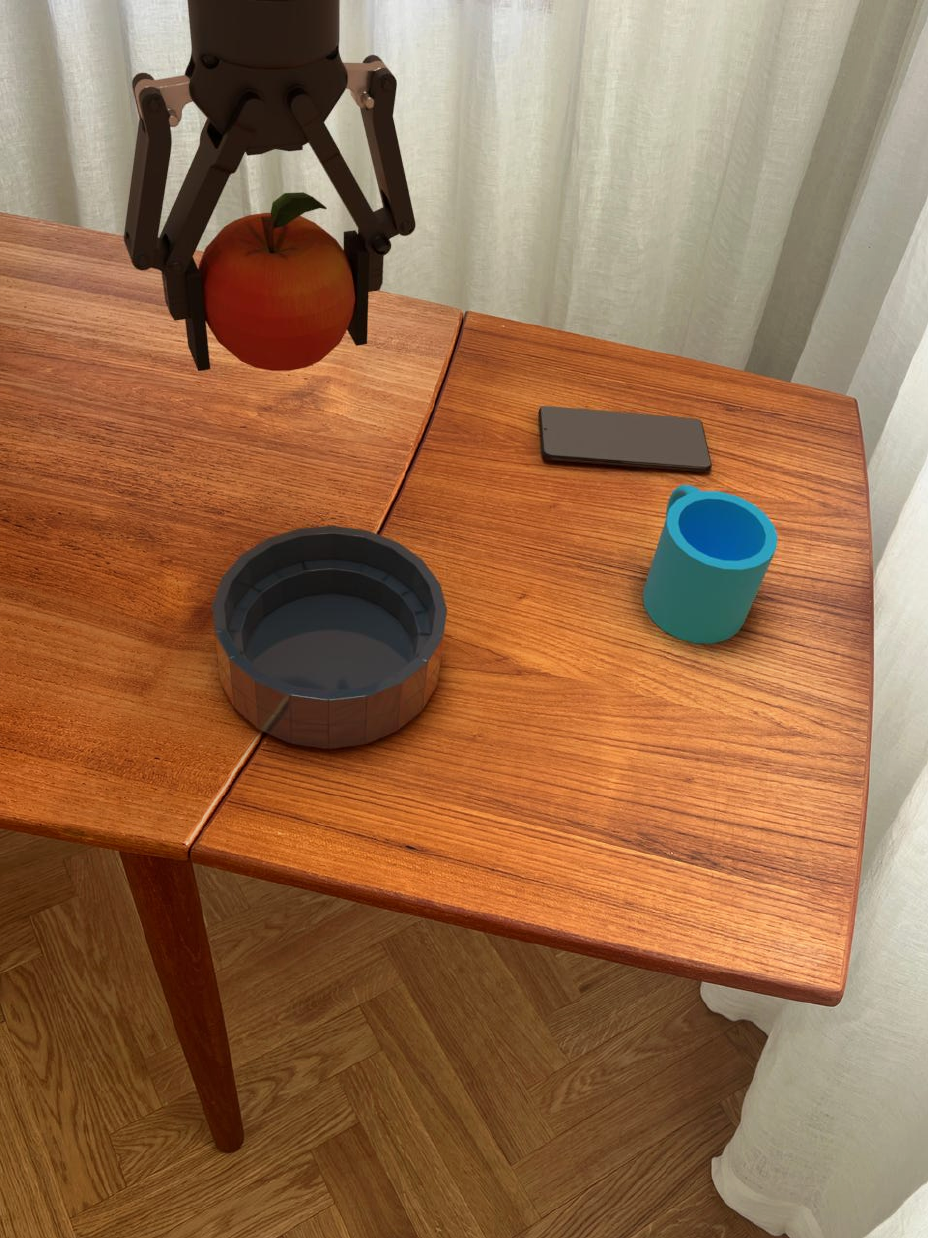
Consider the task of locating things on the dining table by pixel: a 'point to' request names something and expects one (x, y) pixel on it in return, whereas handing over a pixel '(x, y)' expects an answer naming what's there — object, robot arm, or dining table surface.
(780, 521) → the dining table surface
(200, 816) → the dining table surface
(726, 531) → the mug
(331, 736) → the bowl
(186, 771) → the dining table surface
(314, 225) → the fruit
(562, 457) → the smartphone
